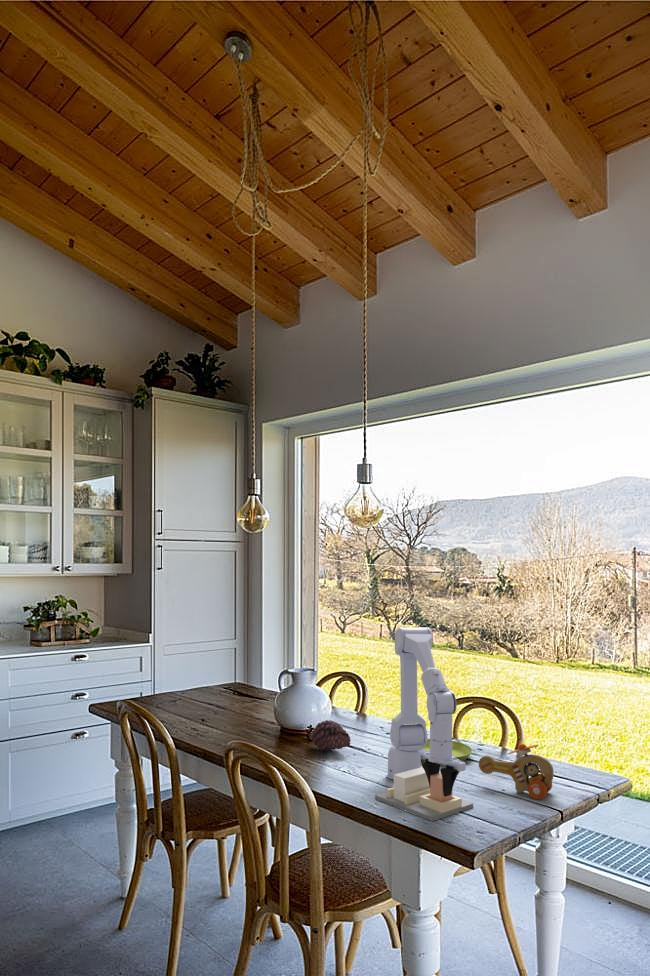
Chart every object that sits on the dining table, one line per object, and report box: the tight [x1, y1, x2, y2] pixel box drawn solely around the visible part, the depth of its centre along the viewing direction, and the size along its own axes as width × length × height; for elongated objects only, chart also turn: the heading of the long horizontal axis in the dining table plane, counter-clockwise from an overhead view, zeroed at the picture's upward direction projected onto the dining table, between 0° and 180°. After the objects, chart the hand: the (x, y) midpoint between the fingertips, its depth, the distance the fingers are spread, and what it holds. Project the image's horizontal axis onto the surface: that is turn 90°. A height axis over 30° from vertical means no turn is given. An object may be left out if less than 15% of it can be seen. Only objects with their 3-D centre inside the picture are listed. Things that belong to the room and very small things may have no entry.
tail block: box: [430, 772, 453, 803], centre depth 193 cm, size 4×4×6 cm
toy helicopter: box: [478, 743, 555, 800], centre depth 209 cm, size 8×21×14 cm, turn 60°
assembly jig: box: [375, 786, 474, 822], centre depth 197 cm, size 20×16×3 cm
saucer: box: [421, 738, 473, 762], centre depth 240 cm, size 21×21×3 cm
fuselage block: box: [393, 766, 430, 802], centre depth 201 cm, size 4×12×6 cm, turn 130°
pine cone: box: [309, 719, 351, 752], centre depth 244 cm, size 18×10×10 cm, turn 41°
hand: (440, 793), depth 193 cm, fingers closed on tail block, 4 cm apart
